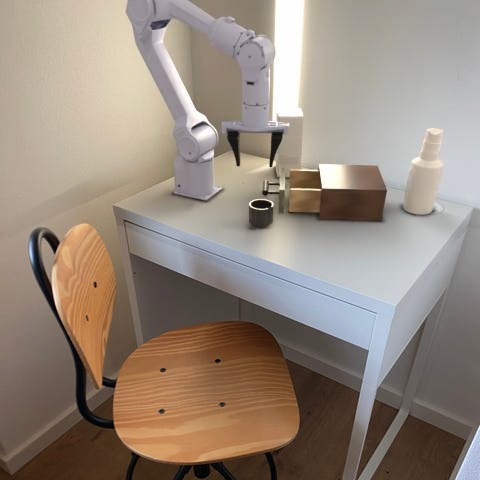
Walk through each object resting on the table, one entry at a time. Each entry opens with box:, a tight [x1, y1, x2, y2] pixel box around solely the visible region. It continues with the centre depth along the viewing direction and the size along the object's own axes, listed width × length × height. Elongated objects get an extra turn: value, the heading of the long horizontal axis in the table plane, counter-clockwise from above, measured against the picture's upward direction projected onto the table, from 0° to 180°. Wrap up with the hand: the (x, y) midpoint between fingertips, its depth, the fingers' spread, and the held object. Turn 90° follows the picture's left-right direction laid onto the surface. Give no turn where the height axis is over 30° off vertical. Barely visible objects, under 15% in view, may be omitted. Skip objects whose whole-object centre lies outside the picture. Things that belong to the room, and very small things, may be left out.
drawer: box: [261, 168, 322, 215], centre depth 118 cm, size 17×13×6 cm
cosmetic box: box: [275, 107, 305, 178], centre depth 132 cm, size 8×7×16 cm
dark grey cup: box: [248, 198, 275, 229], centre depth 111 cm, size 5×5×5 cm
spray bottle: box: [402, 127, 445, 216], centre depth 113 cm, size 7×7×18 cm
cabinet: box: [317, 163, 388, 222], centre depth 117 cm, size 14×14×7 cm
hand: (254, 165), depth 115 cm, fingers open, 7 cm apart
